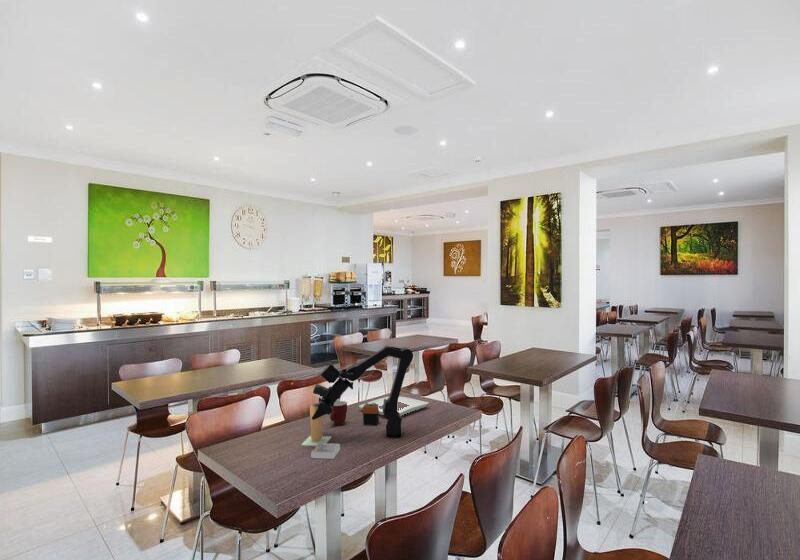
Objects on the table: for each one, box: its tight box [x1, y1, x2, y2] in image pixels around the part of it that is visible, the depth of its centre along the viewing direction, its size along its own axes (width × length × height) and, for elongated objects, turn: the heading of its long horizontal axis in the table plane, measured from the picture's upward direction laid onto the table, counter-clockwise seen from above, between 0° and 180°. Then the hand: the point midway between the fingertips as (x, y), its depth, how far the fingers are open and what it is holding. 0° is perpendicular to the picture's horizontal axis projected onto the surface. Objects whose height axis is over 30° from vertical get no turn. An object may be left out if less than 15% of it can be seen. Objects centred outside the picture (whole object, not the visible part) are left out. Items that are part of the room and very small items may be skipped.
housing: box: [310, 442, 341, 460], centre depth 173 cm, size 9×9×2 cm
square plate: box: [358, 395, 429, 417], centre depth 229 cm, size 27×27×4 cm
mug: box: [329, 400, 348, 426], centre depth 208 cm, size 10×8×10 cm
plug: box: [309, 403, 323, 440], centre depth 187 cm, size 5×5×15 cm
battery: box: [362, 402, 380, 426], centre depth 208 cm, size 4×7×10 cm, turn 77°
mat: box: [301, 435, 332, 447], centre depth 187 cm, size 10×10×1 cm
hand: (312, 417), depth 187 cm, fingers closed on plug, 5 cm apart
